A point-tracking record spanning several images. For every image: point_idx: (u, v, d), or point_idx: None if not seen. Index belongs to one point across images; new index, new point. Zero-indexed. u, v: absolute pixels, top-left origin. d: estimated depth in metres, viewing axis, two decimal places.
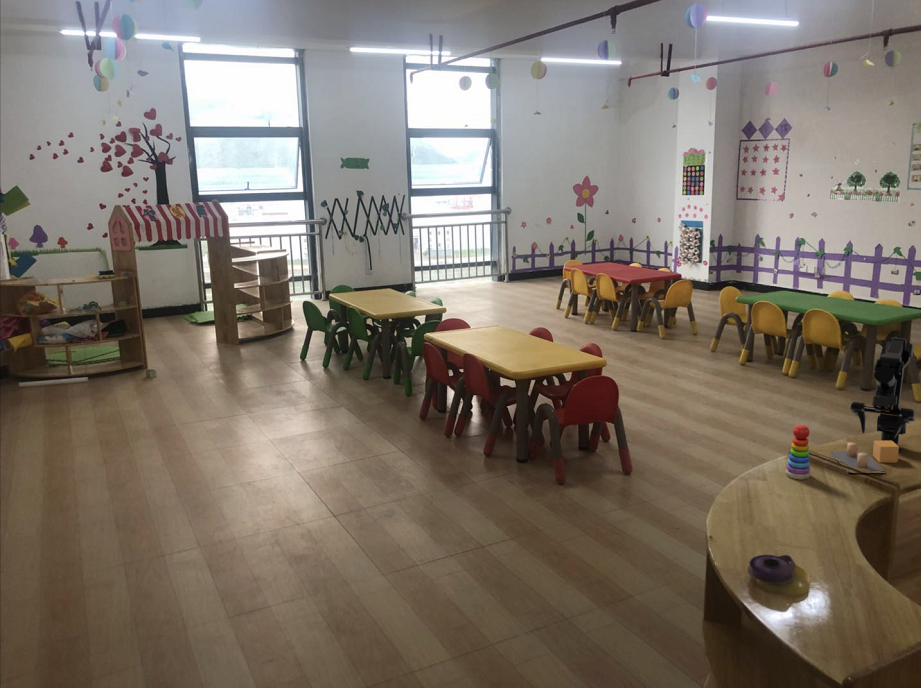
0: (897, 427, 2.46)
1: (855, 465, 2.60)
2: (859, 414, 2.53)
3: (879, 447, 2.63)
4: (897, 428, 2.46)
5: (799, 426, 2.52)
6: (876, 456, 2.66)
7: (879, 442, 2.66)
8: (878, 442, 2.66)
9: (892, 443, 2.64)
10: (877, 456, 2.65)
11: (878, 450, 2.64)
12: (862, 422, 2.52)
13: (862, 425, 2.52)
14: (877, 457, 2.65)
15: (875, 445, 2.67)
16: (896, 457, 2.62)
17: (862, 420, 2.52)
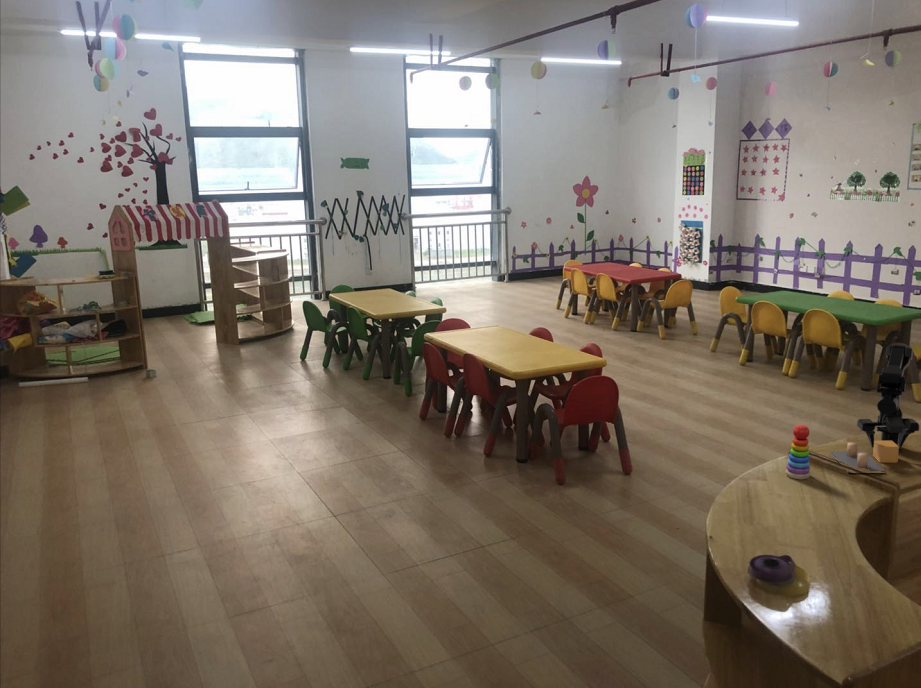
0: (903, 439, 2.62)
1: (855, 465, 2.60)
2: (870, 434, 2.63)
3: (879, 447, 2.63)
4: (903, 440, 2.62)
5: (799, 426, 2.52)
6: (876, 456, 2.66)
7: (879, 442, 2.66)
8: (878, 442, 2.66)
9: (892, 443, 2.64)
10: (877, 456, 2.65)
11: (878, 450, 2.64)
12: (872, 439, 2.64)
13: (872, 441, 2.64)
14: (877, 457, 2.65)
15: (875, 445, 2.67)
16: (896, 457, 2.62)
17: (872, 437, 2.64)
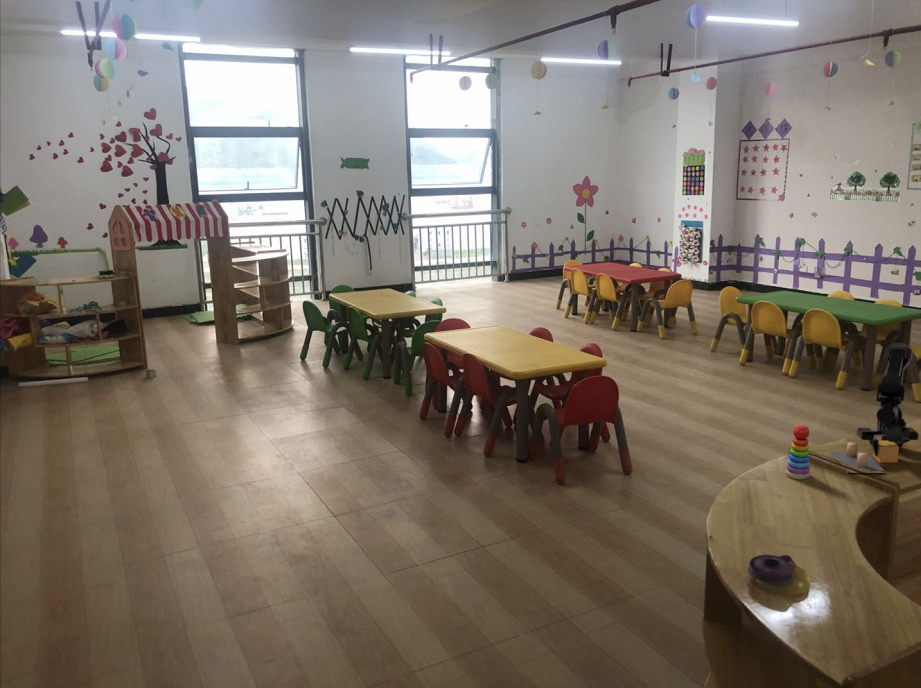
0: None
1: (855, 465, 2.60)
2: (874, 442, 2.63)
3: (879, 447, 2.63)
4: None
5: (799, 426, 2.52)
6: (876, 456, 2.66)
7: (879, 442, 2.66)
8: (878, 442, 2.66)
9: (892, 443, 2.64)
10: (877, 456, 2.65)
11: (879, 450, 2.64)
12: (876, 448, 2.64)
13: (876, 450, 2.65)
14: (877, 457, 2.65)
15: None
16: (896, 457, 2.62)
17: (876, 446, 2.64)
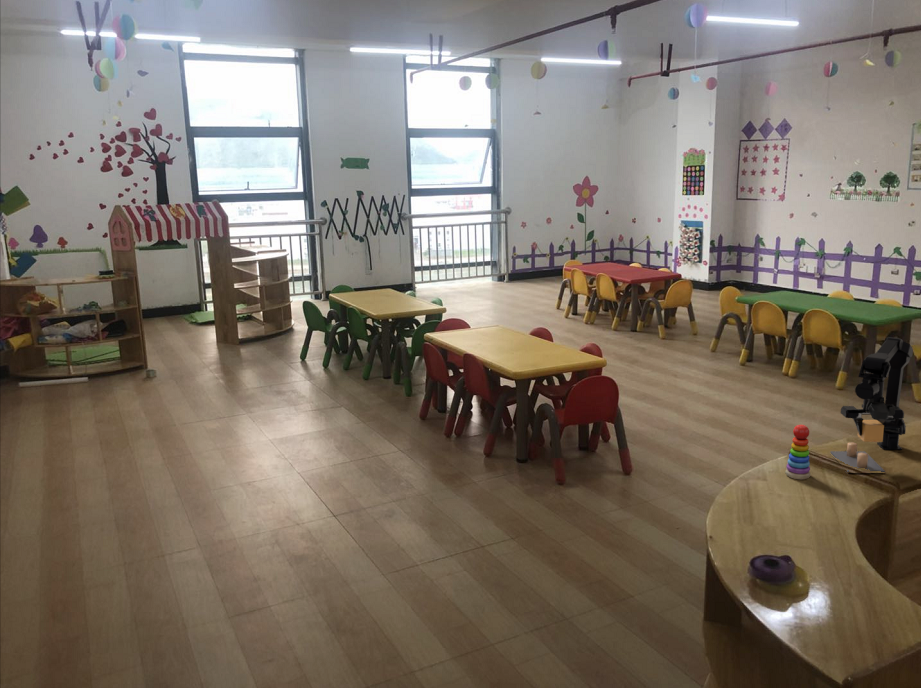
0: None
1: (855, 465, 2.60)
2: (858, 421, 2.55)
3: (864, 426, 2.55)
4: None
5: (799, 426, 2.52)
6: None
7: (864, 421, 2.58)
8: (863, 421, 2.58)
9: (877, 422, 2.56)
10: (862, 435, 2.57)
11: (863, 429, 2.56)
12: (860, 427, 2.56)
13: (860, 429, 2.57)
14: (862, 436, 2.57)
15: None
16: (881, 436, 2.54)
17: (860, 425, 2.56)
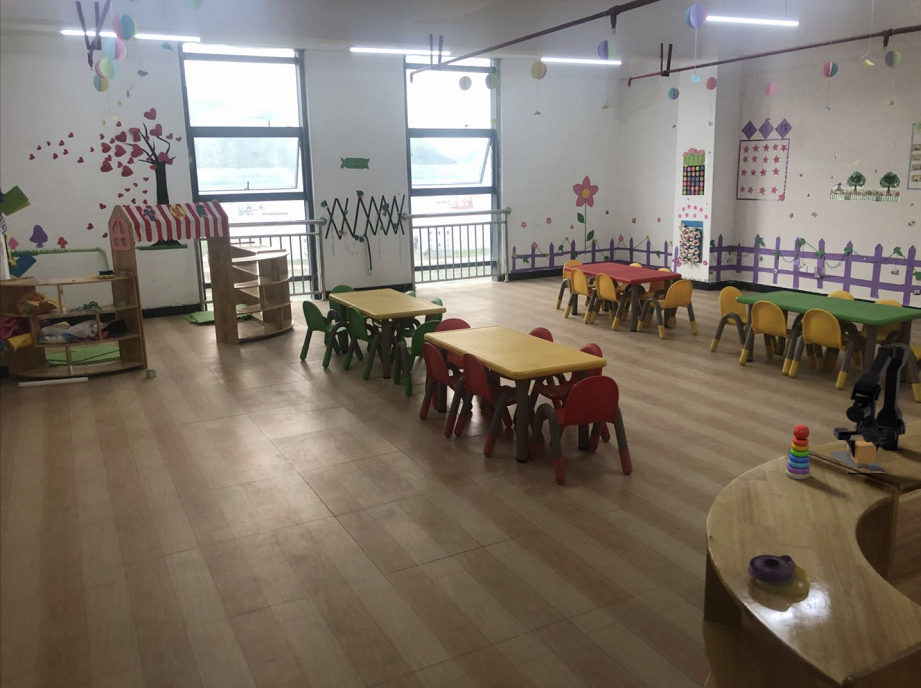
0: (876, 448, 2.55)
1: (855, 465, 2.60)
2: (851, 443, 2.55)
3: (856, 447, 2.55)
4: (876, 449, 2.56)
5: (799, 426, 2.52)
6: (853, 457, 2.58)
7: (856, 442, 2.58)
8: (855, 442, 2.58)
9: (870, 443, 2.57)
10: (854, 457, 2.57)
11: (856, 451, 2.56)
12: (853, 448, 2.57)
13: (853, 451, 2.57)
14: (854, 458, 2.57)
15: None
16: (874, 458, 2.54)
17: (853, 447, 2.56)
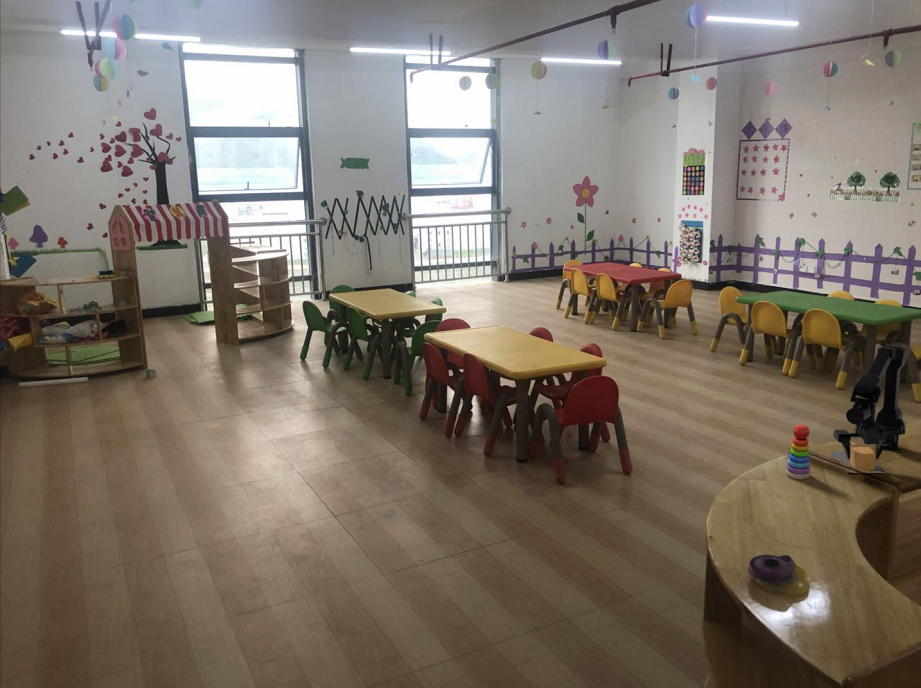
0: (880, 450, 2.55)
1: None
2: (846, 445, 2.56)
3: (856, 454, 2.56)
4: (880, 451, 2.55)
5: (799, 426, 2.52)
6: (853, 463, 2.59)
7: (856, 449, 2.59)
8: (855, 449, 2.59)
9: (869, 450, 2.57)
10: (854, 463, 2.58)
11: (855, 457, 2.56)
12: (848, 450, 2.57)
13: (848, 453, 2.57)
14: (854, 464, 2.58)
15: (852, 452, 2.60)
16: (873, 464, 2.55)
17: (848, 449, 2.57)
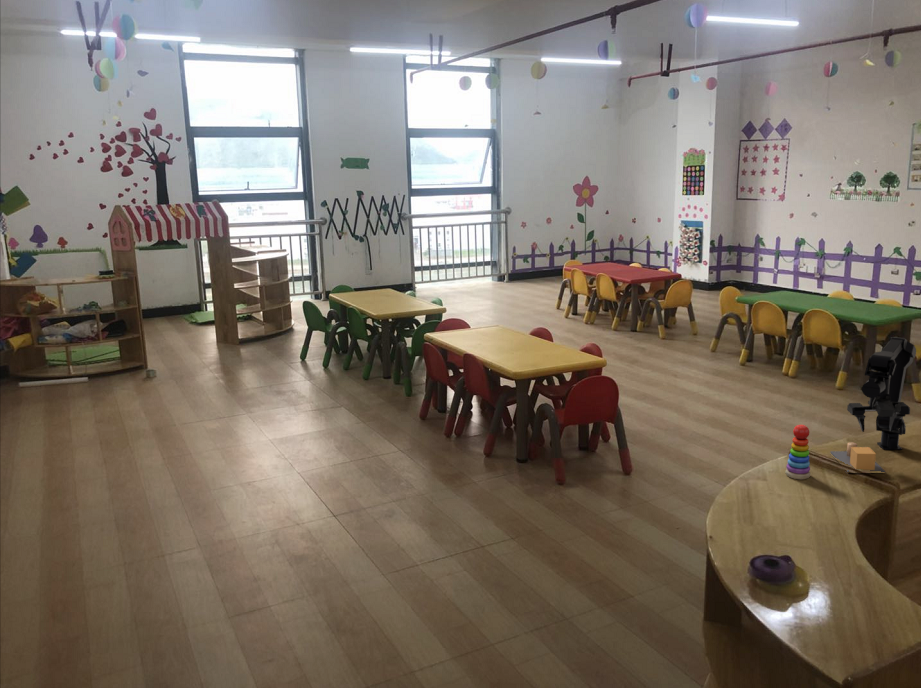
0: (894, 423, 2.59)
1: None
2: (860, 418, 2.59)
3: (856, 454, 2.56)
4: (894, 423, 2.59)
5: (799, 426, 2.52)
6: (853, 463, 2.59)
7: (856, 449, 2.59)
8: (855, 449, 2.59)
9: (869, 450, 2.57)
10: (854, 463, 2.58)
11: (855, 457, 2.56)
12: (862, 423, 2.61)
13: (862, 426, 2.61)
14: (854, 464, 2.58)
15: (852, 452, 2.60)
16: (873, 464, 2.55)
17: (862, 422, 2.60)
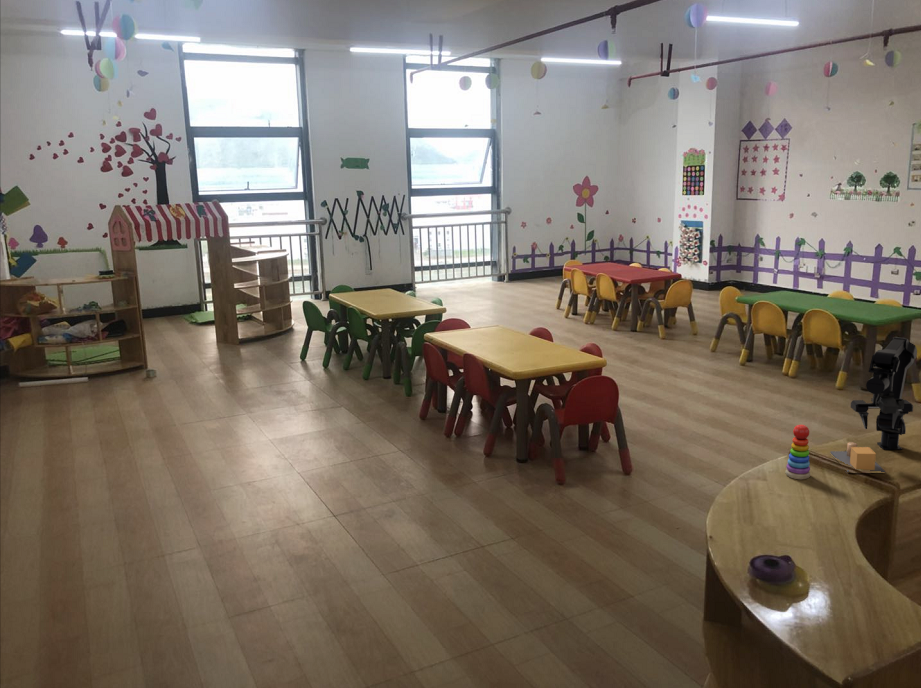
0: (897, 420, 2.60)
1: None
2: (863, 415, 2.60)
3: (856, 454, 2.56)
4: (897, 421, 2.60)
5: (799, 426, 2.52)
6: (853, 463, 2.59)
7: (856, 449, 2.59)
8: (855, 449, 2.59)
9: (869, 450, 2.57)
10: (854, 463, 2.58)
11: (855, 457, 2.56)
12: (866, 420, 2.61)
13: (865, 423, 2.62)
14: (854, 464, 2.58)
15: (852, 452, 2.60)
16: (873, 464, 2.55)
17: (866, 419, 2.61)
